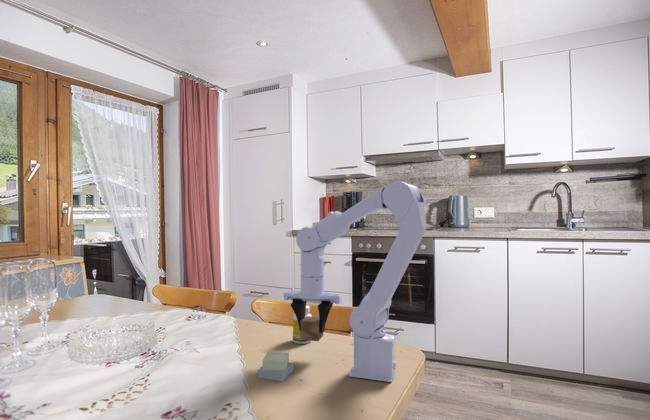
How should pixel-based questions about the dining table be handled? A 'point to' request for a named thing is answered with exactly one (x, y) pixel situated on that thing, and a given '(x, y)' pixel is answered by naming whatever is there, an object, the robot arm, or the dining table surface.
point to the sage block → (275, 361)
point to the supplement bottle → (297, 331)
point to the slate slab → (276, 373)
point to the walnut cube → (310, 329)
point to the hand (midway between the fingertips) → (312, 330)
